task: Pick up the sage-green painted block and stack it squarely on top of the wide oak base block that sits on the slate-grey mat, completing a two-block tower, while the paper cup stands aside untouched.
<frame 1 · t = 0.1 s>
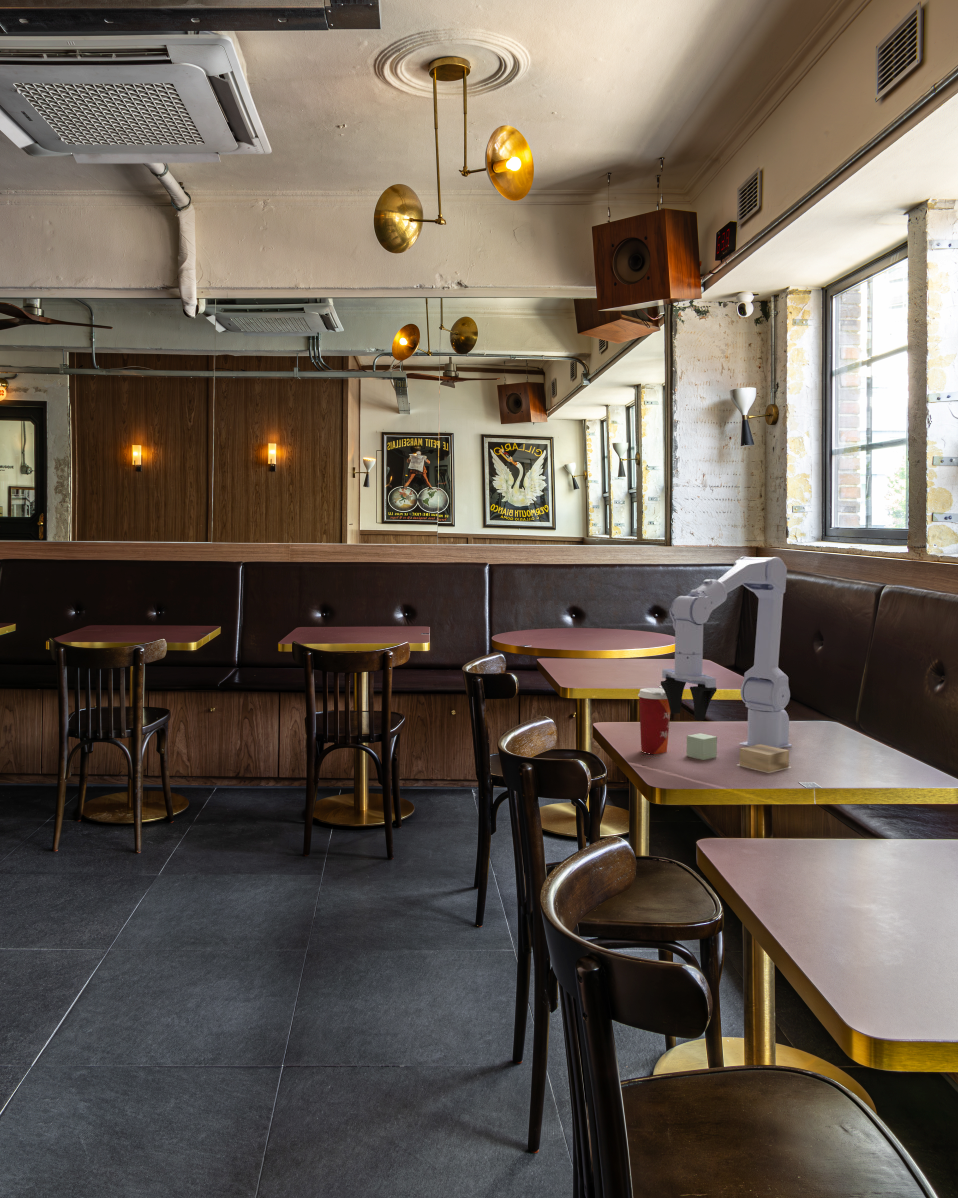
hand: (687, 716, 185), 10 cm above the table, tool pointing down, fingers open, 7 cm apart
sage block: (701, 759, 190), on the table
oak base: (763, 766, 182), resting on build mat
build mat: (763, 768, 182), on the table
paper cup: (653, 753, 195), on the table
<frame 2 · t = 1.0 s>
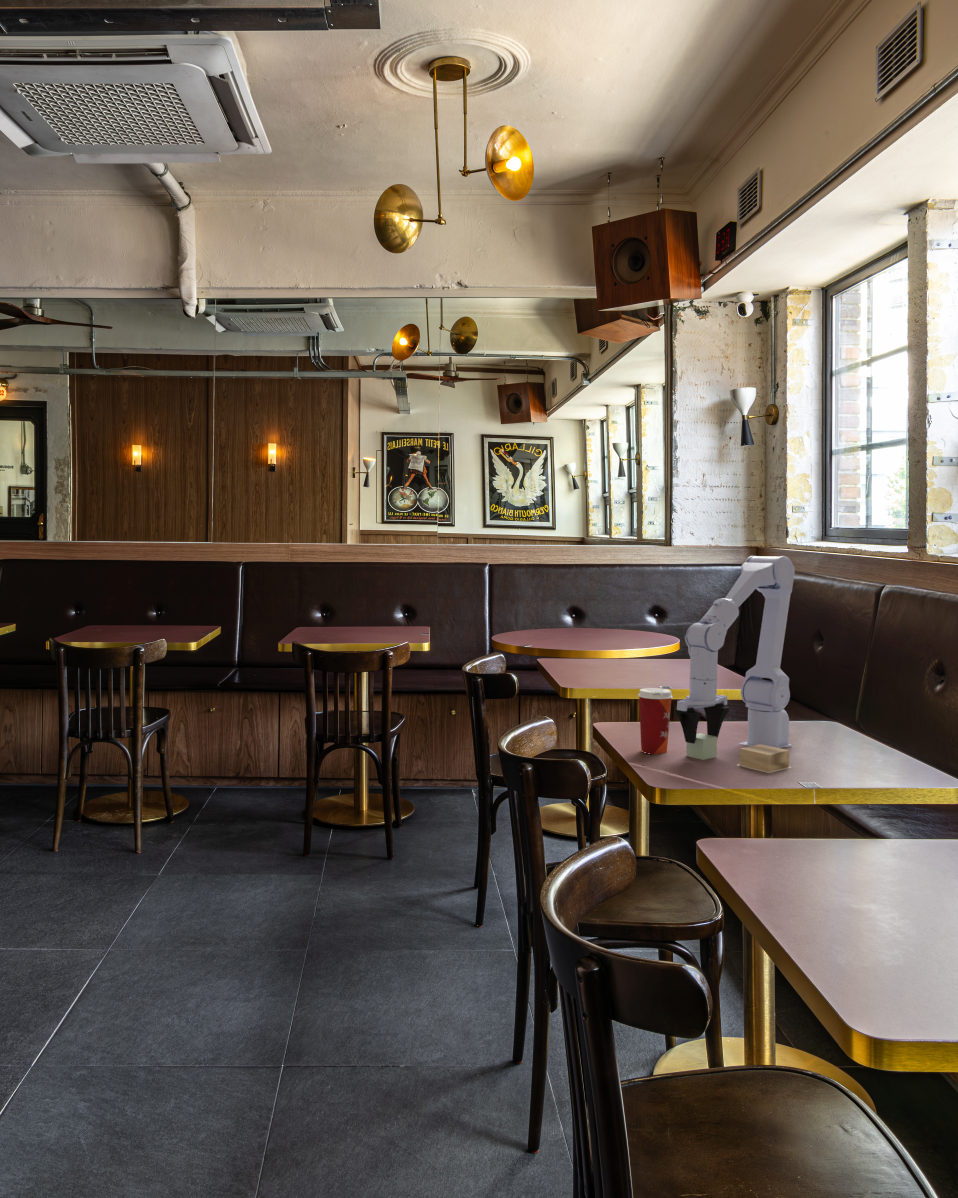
hand: (701, 740, 189), 4 cm above the table, tool pointing down, fingers open, 7 cm apart
nothing on the table moved.
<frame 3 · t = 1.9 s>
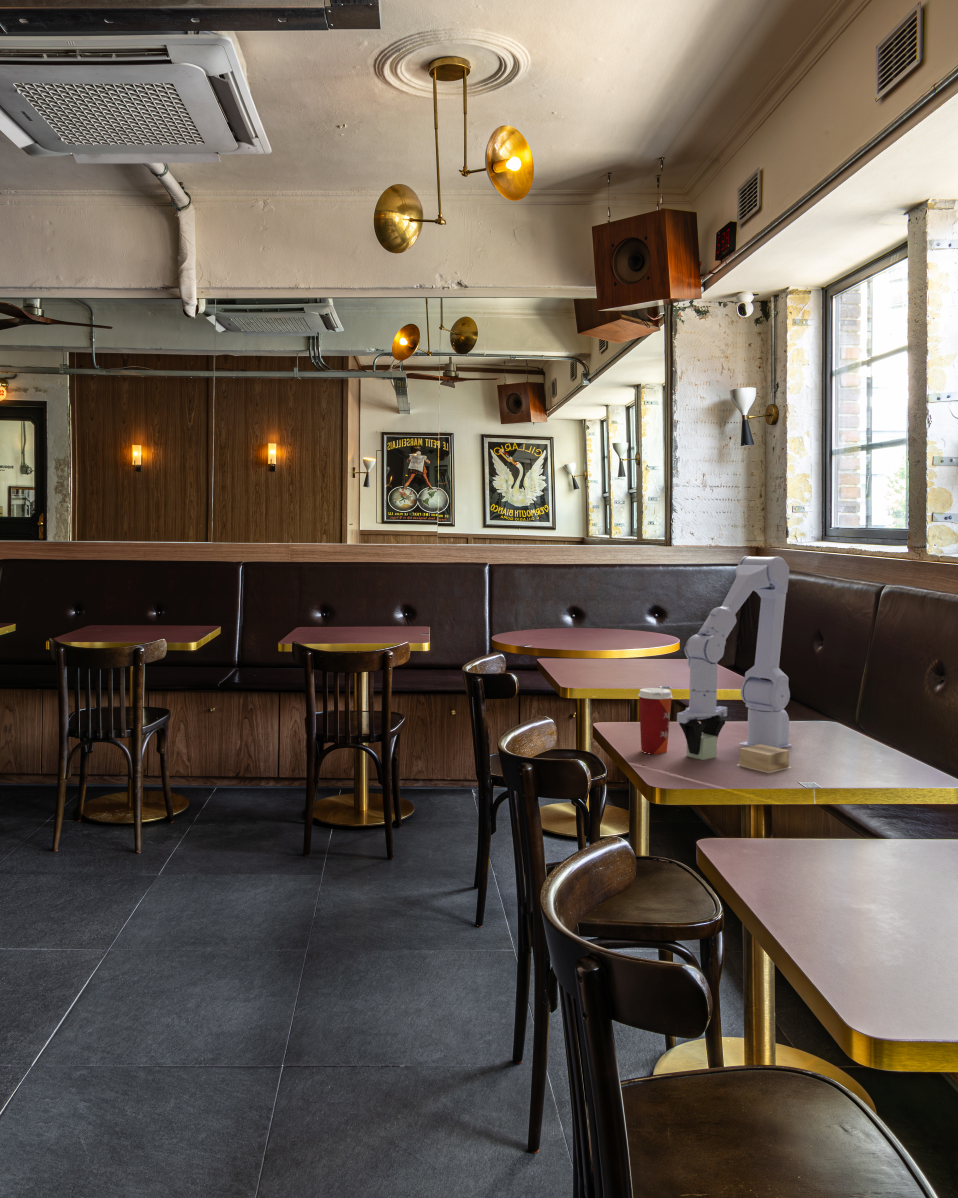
hand: (701, 752, 189), 1 cm above the table, tool pointing down, fingers closed on sage block, 4 cm apart
sage block: (701, 758, 190), on the table, touching gripper
everything else where it was.
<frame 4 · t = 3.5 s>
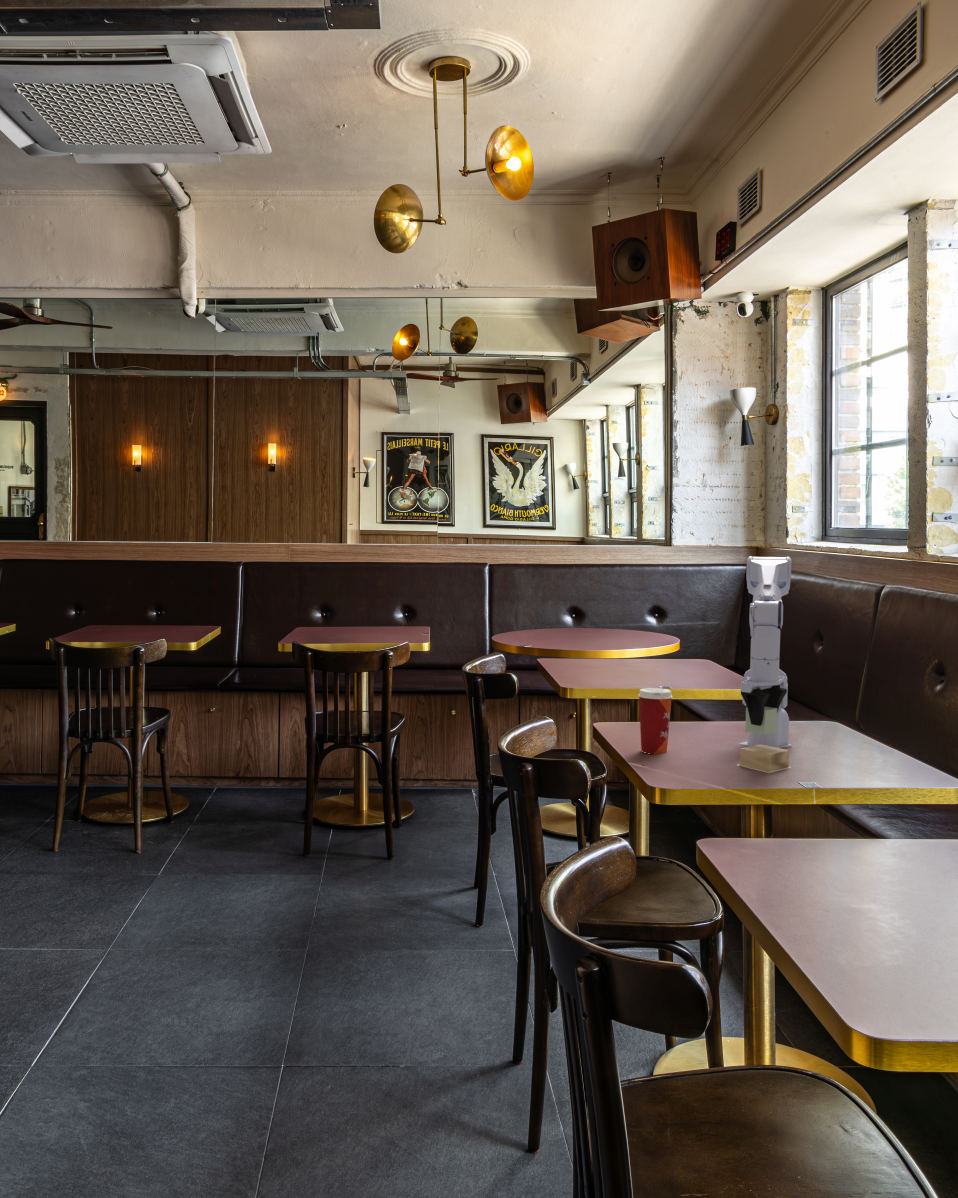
hand: (762, 723, 181), 9 cm above the table, tool pointing down, fingers closed on sage block, 4 cm apart
sage block: (761, 731, 182), point 8 cm above the table, touching gripper
everything else where it was.
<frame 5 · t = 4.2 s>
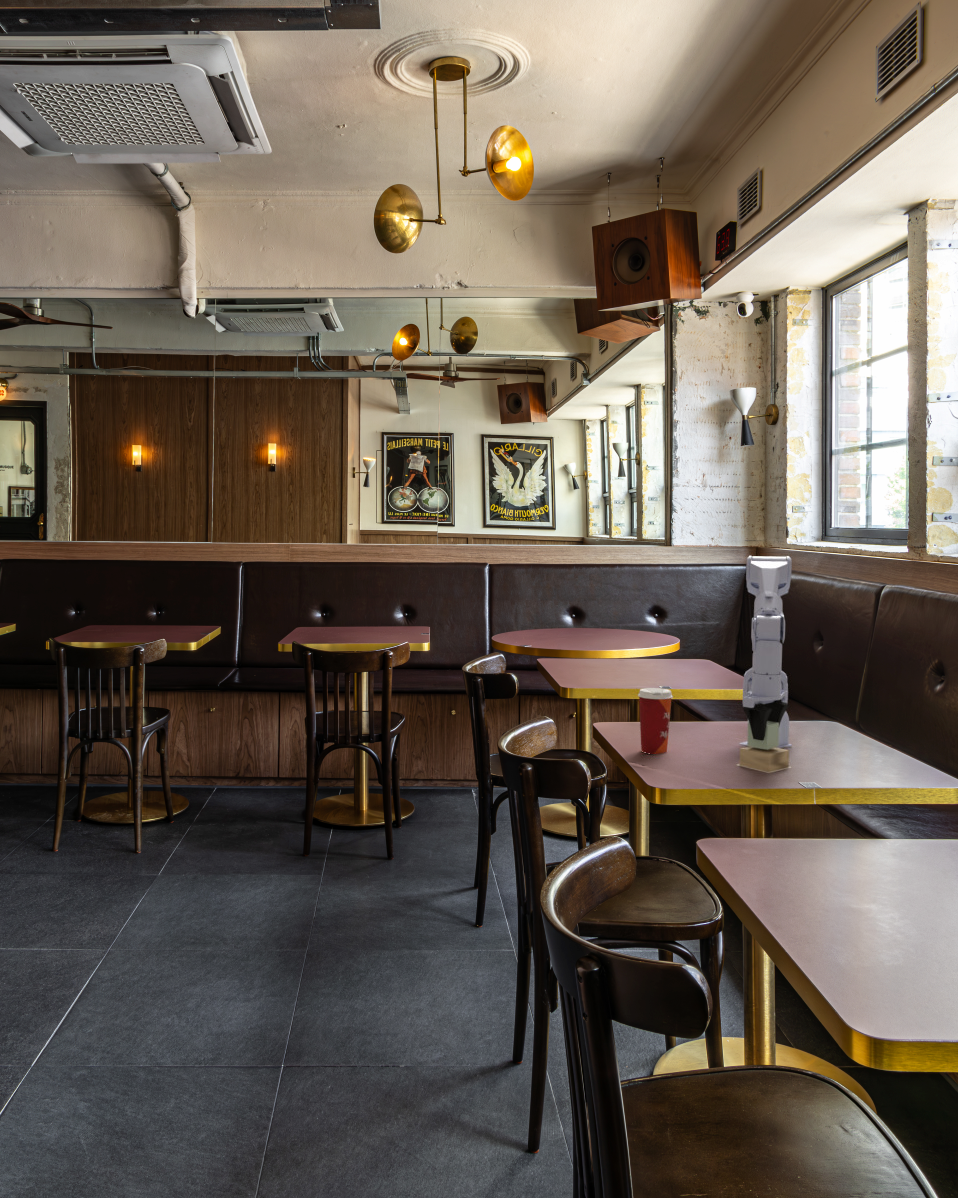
hand: (764, 738, 181), 6 cm above the table, tool pointing down, fingers closed on sage block, 4 cm apart
sage block: (762, 746, 182), point 5 cm above the table, touching gripper
everything else where it was.
when the fingers open (6 cm above the table, at t = 5.0 s): sage block stays where it is, resting on oak base.
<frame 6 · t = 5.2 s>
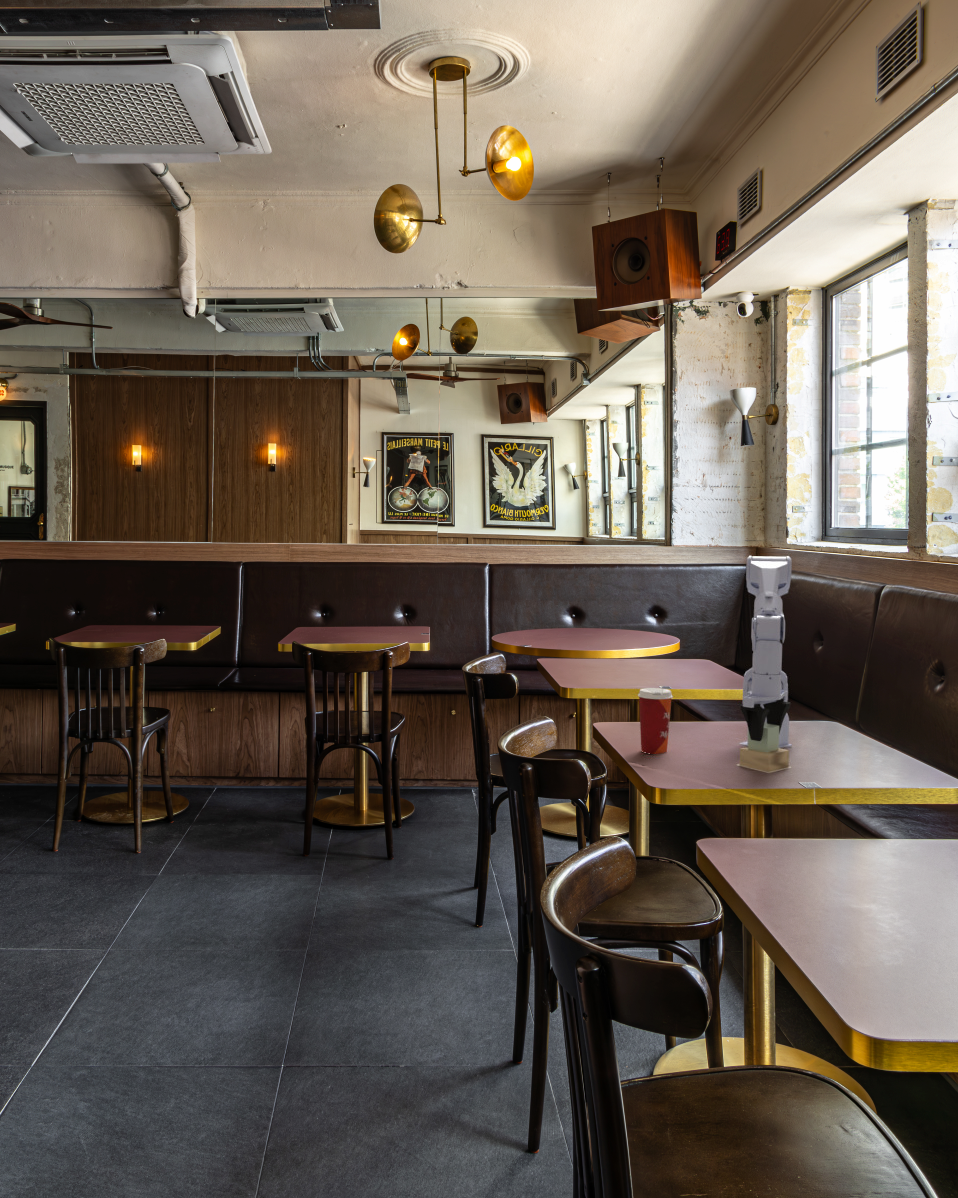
hand: (764, 737, 181), 6 cm above the table, tool pointing down, fingers open, 6 cm apart
sage block: (763, 749, 182), point 4 cm above the table, touching oak base
oak base: (763, 766, 182), resting on build mat, touching sage block
everything else where it was.
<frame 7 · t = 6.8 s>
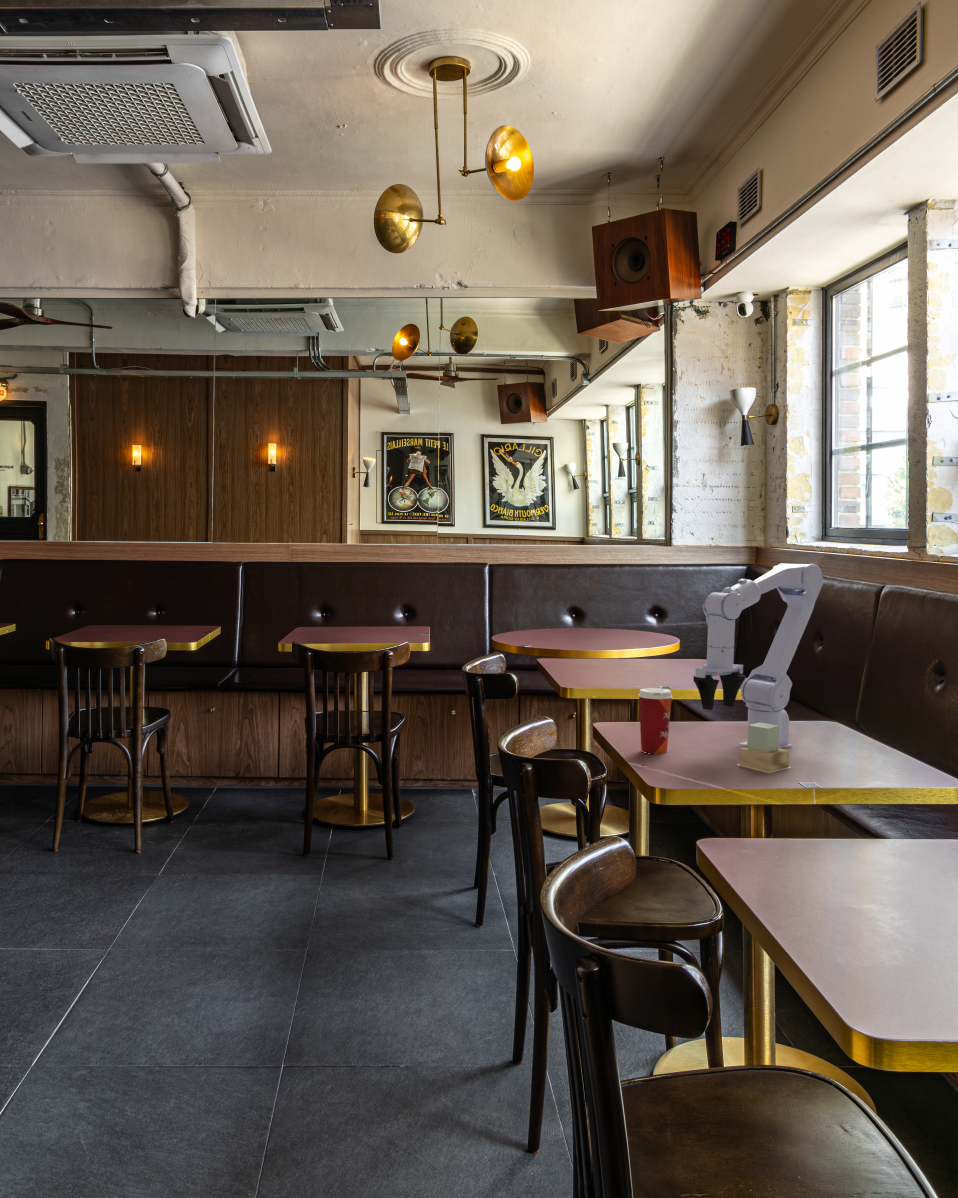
hand: (718, 707, 193), 10 cm above the table, tool pointing down, fingers open, 7 cm apart
nothing on the table moved.
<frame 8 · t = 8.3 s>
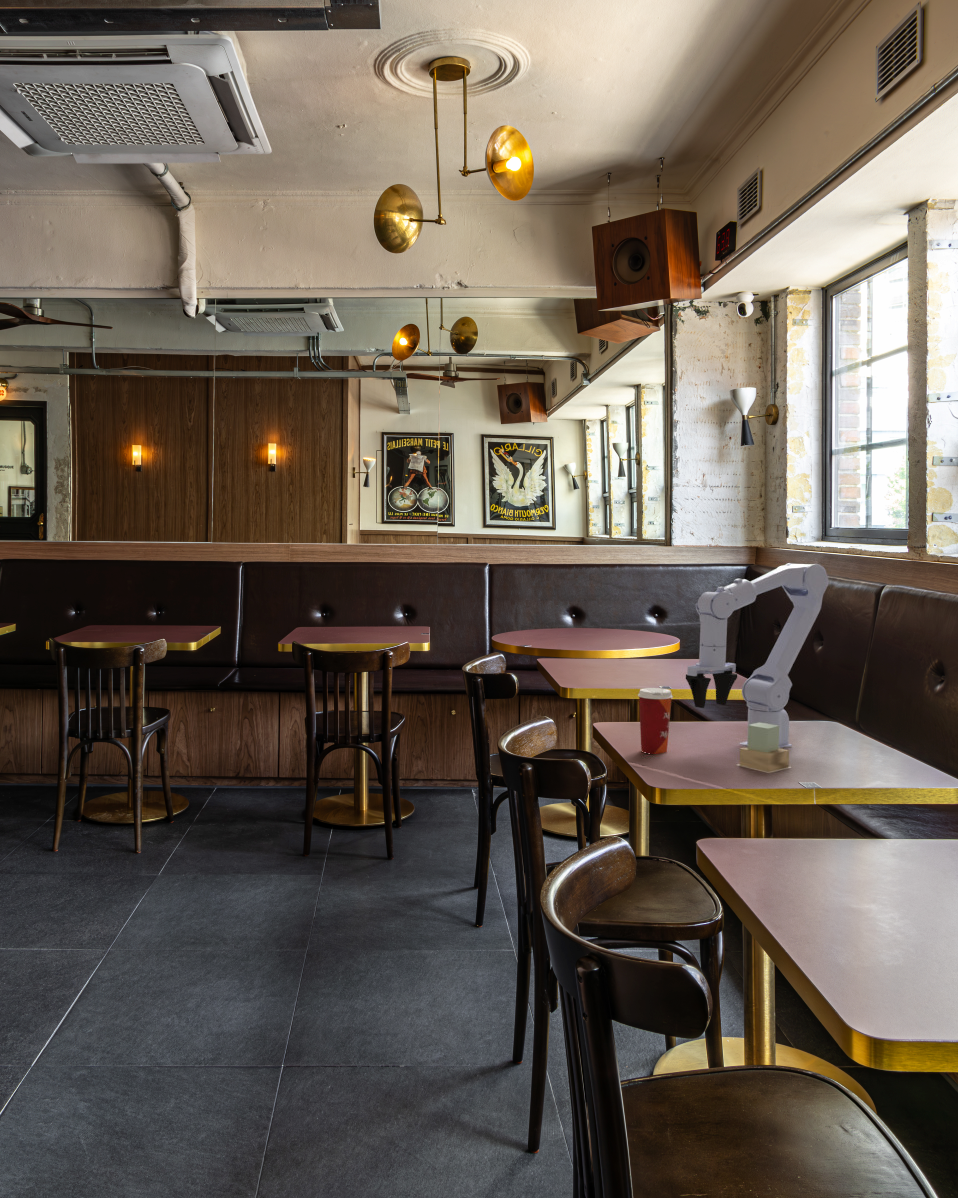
hand: (710, 705, 195), 10 cm above the table, tool pointing down, fingers open, 7 cm apart
nothing on the table moved.
at the end: sage block 0.3 cm off-centre on the oak base, point 3.5 cm above the oak base's base; sage block tilted 0°; sage block touching oak base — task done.
